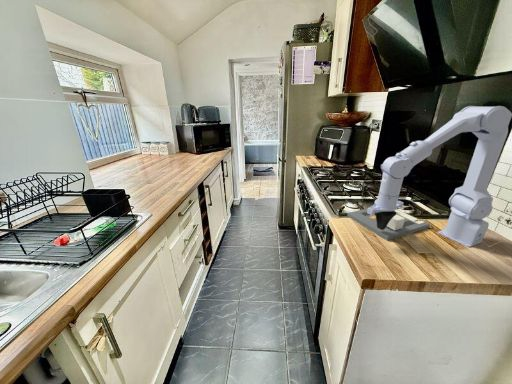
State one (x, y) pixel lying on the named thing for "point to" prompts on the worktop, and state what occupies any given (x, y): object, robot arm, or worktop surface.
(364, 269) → the worktop surface
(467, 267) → the worktop surface
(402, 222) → the white cube
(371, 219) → the switch unit
